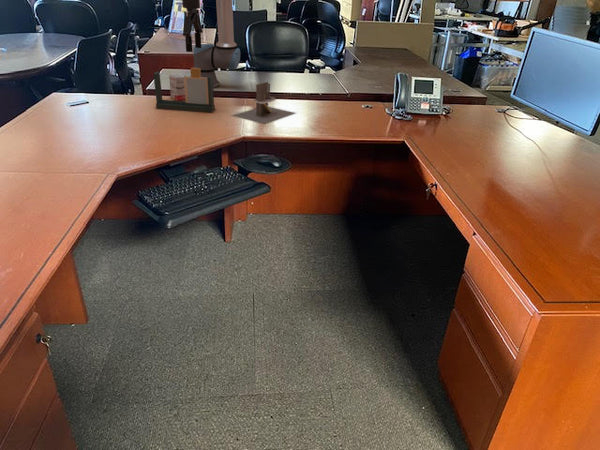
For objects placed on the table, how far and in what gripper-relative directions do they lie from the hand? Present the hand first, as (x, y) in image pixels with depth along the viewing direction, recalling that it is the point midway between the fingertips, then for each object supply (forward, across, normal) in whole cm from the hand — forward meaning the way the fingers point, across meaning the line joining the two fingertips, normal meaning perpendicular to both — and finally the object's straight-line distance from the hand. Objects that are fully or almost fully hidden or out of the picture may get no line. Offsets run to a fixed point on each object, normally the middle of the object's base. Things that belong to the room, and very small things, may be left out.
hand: (194, 49), depth 205 cm
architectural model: (+28, -2, +33) cm, 43 cm away
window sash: (+25, 0, 0) cm, 25 cm away
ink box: (+28, -19, -16) cm, 38 cm away
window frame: (+28, 0, -6) cm, 29 cm away
